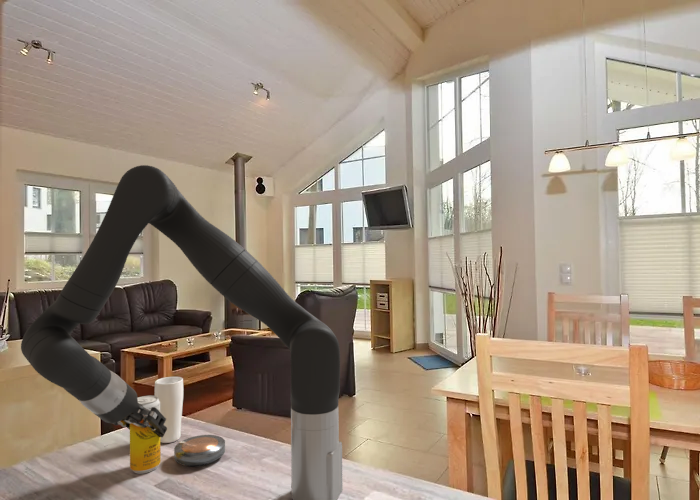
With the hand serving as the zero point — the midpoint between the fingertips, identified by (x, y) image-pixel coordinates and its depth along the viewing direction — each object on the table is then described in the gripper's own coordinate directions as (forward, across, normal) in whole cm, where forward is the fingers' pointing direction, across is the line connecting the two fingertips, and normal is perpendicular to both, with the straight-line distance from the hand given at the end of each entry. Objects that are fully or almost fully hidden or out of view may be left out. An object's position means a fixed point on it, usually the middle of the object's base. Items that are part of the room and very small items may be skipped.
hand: (151, 431), depth 97 cm
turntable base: (+9, -9, +1) cm, 13 cm away
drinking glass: (+14, +5, -3) cm, 15 cm away
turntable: (+9, -9, +1) cm, 13 cm away
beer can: (+4, 0, +7) cm, 8 cm away
